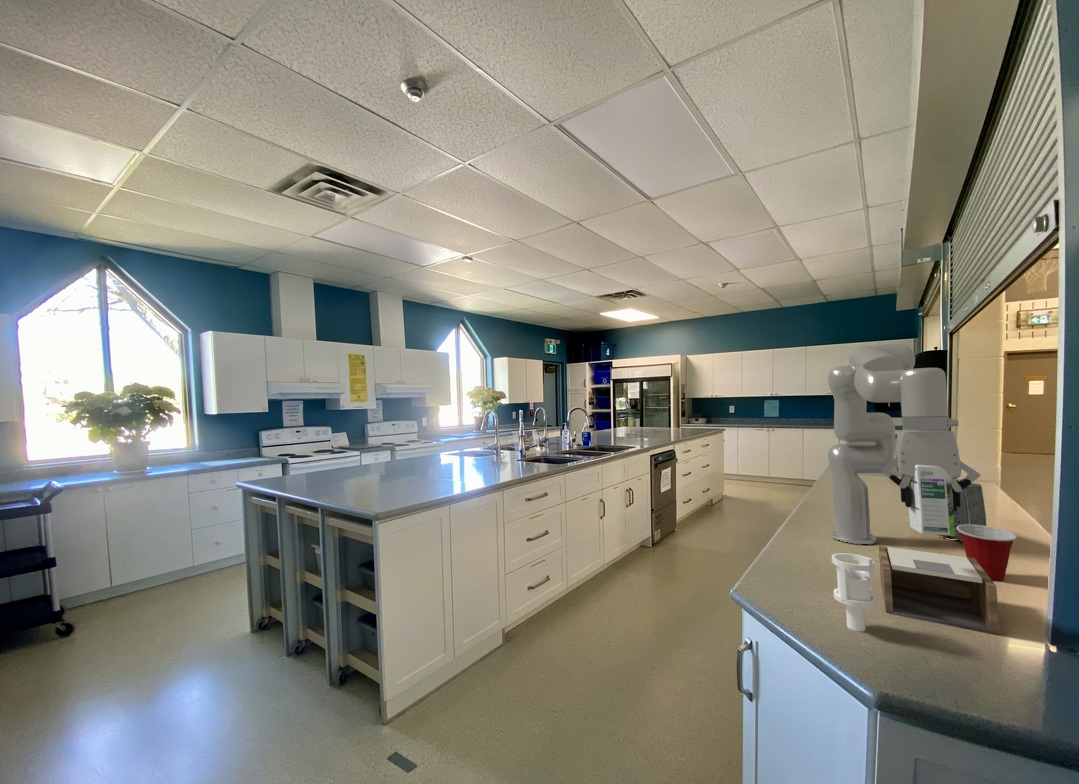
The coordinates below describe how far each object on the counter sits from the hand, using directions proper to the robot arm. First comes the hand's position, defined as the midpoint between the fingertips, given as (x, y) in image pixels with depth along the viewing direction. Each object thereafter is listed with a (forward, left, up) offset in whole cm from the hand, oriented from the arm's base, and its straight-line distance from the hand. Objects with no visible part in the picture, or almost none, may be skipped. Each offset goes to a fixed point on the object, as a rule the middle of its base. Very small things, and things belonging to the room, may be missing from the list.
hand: (929, 507), depth 92 cm
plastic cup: (-33, +14, -23) cm, 43 cm away
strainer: (+15, -14, -23) cm, 31 cm away
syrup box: (0, 0, -5) cm, 5 cm away
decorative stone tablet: (-73, +11, -23) cm, 77 cm away
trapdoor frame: (-5, 0, -23) cm, 24 cm away
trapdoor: (-5, 0, -14) cm, 15 cm away
